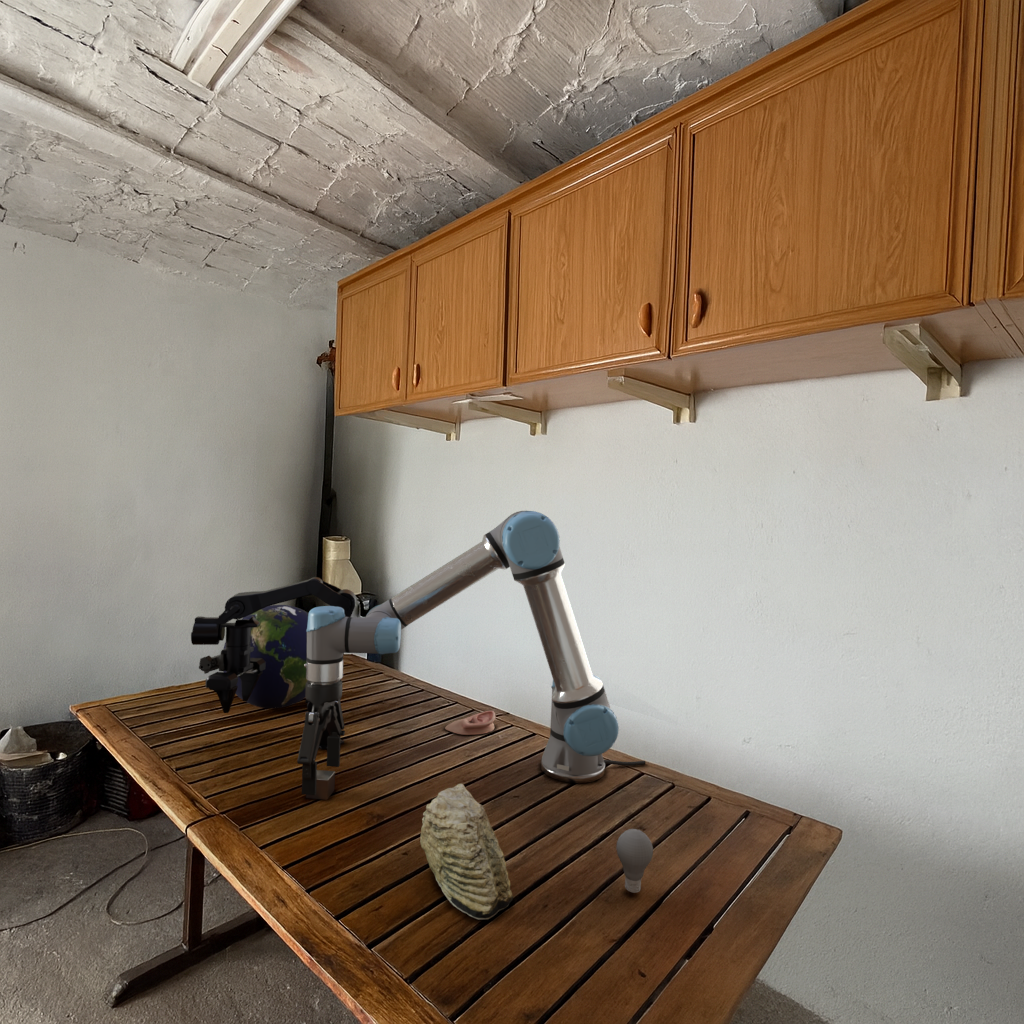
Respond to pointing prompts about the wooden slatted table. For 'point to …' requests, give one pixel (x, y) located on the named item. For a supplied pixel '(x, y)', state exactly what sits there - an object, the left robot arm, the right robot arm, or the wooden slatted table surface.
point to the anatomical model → (473, 724)
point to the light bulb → (634, 857)
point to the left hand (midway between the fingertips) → (235, 706)
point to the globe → (279, 656)
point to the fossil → (465, 854)
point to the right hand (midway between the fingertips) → (321, 779)
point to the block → (324, 785)
